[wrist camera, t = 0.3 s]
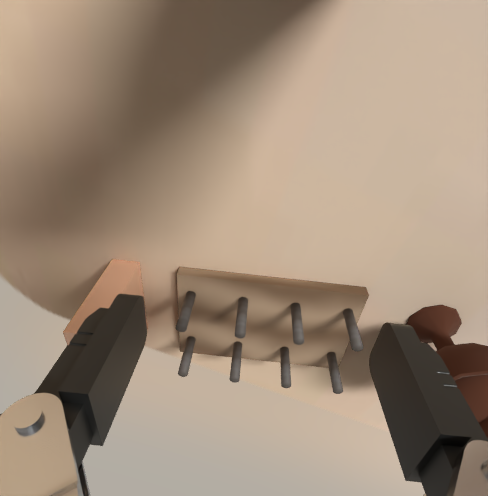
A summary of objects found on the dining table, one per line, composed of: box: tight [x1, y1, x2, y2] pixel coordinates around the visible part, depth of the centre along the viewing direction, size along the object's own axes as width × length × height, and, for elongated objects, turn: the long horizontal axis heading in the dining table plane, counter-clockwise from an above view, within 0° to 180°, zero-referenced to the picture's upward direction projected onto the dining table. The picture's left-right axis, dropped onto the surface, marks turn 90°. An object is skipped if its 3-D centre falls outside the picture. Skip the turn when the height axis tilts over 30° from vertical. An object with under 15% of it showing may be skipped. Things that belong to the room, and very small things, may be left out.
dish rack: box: [176, 267, 369, 394], centre depth 34 cm, size 12×19×6 cm, turn 85°
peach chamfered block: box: [63, 259, 148, 345], centre depth 31 cm, size 10×3×10 cm, turn 175°
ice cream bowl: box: [406, 305, 488, 438], centre depth 29 cm, size 11×11×15 cm
